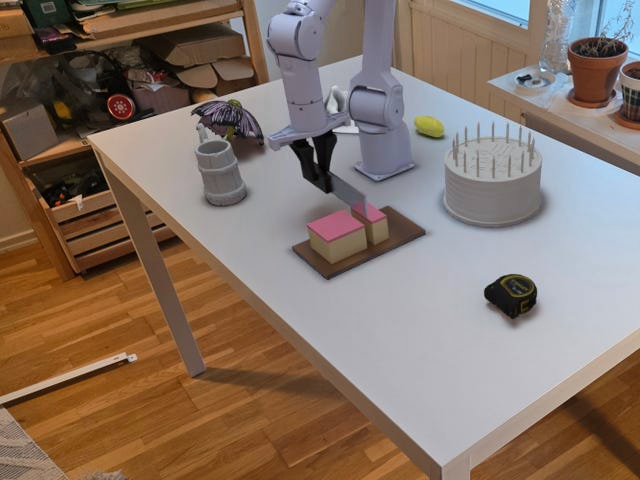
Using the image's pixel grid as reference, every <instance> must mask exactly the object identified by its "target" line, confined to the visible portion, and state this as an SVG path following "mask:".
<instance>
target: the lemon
mask: <svg viewBox="0 0 640 480" xmlns="http://www.w3.org/2000/svg"><path fill="white" fill-rule="evenodd" d="M413 124H414V126H415V127H416V130H417V131H418V132H419V133H420V134H424V135H427V136H429V137H434V138H441V137H442V136H443V135H444V133H445V127H444V125H443V123H442V122H441V121H440V120H439V119H437V118H435V117H433V116H431V115H430V116H428V115H419V116H416V117H415V118H414V120H413Z"/></svg>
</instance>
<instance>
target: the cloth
mask: <svg viewBox="0 0 640 480" xmlns="http://www.w3.org/2000/svg"><path fill="white" fill-rule="evenodd" d="M348 93H349V90H348V91H347V90H343V91H342V90H341V89H340V88H339V86H338V85H333V86H331V87H330V88H329V91H328V93H327V94H326V96H325V97H323V101H324V108H325V114H326V115H327V114H333V113H338V112H341V111H345V112H346V113H347V111H346V98H347V95H348ZM350 120H351V119H350ZM332 131H333V133H338V134H354V135H355V134H357V135H359V129H358V127H355V124H354V121H353V120H351V126H348V127H345V126H342V127H339V128H336V129H333V130H332Z"/></svg>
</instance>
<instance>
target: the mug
mask: <svg viewBox="0 0 640 480" xmlns="http://www.w3.org/2000/svg"><path fill="white" fill-rule="evenodd" d="M195 126H196V127H197V129H198V130H197V129H196V130H197V132H198V138H199V144H198V145H196V147H195V148H194V153H195V156H196V160H197V164H196V165H197V166H196V167H197V169H198V171H199V173H200V175H201V178H202V183H203V194H204V196H205V197H206V198H207V201H209V203H210V204H212V205H215V206H223V207H224V206H230V205H233V204H236V203H239V202H240V201H242V200H243V199H244V198H245V196H246V195H247V194H246V193H247V192H246V189H247V187H246V182H245V180H243V178H242V176H241V171H240V169H239V167H238V166H239V162H238V158H237V157H236V156H235V153H234V149H233V147H232V144H231V142H230V143H229V142H228V141H225V139H209V135H208V133H207V130H206V128H205V127H204V125H203V124H202V123H200V124H198V123H197V124H196V125H195ZM232 149H233V150H232Z"/></svg>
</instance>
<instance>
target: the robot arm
mask: <svg viewBox="0 0 640 480" xmlns="http://www.w3.org/2000/svg"><path fill="white" fill-rule="evenodd" d="M337 2H338V0H289V2H288V3H287V5H286V7H285V8H284V10H283V12H282V13H281V12H280V13H278V14H275V15H274V16H273V17H272V18H271V19H270V20H269V22H268V24H267V28H266V38H265V44H266V46H267V48H268V50H269V51H270V53H271V54H272V55H273V57H274V61H275V65H276V66H277V67H278V68H279V69H280V73H281V78H282V84H283V88H284V95H285V99H286V105H287V110H288V114H289V119H290V120H289V121H290V123H289V124H288V125H286V126H285V127H282V128H281V129H280V130H277V131H276V132H273V133H271V134H269V135H266V139H267V142H268V147H269V148H270V149H271V150H272V151H274V152H278V151H281V149H282V148H283V147H286V146H288V147H289V148H290V149H291V150H292V152H293V153H294V155H295V156H296V158H297V159H298V161H299V164H300V163H301V164H302V166H303V168H304V171H305V173H306V176H307V178H308V179H310V180H311V181H312V182H314V181H316V171H315V166H314V162H315V156H316V163H317V164H319V165H320V166H322V167H323V168H325V169H326V170H328V171H330V170H331V162H332V156H333V153H334V149H335V147H336V145H337V143H338V135H337V134H335V132H333V131H332V130H333V129H336V128H339V127H342V126H345V127H348V126H351V120H353V121H354V124H355V127H358V129H359V134H358V135H359V136H358V137H359V144H360V151H361V153H360V154H361V162H359V163H357V164H355V165H354V166H353V167H354V169H355V170H357V171H358V172H360V173H361V174H364V175H365V176H366V177H368V178H369V179H371V180H372V181H374V182H380V181H382V180H385V179H388V178H390V177H393V176H395V175H397V174H400V173H402V172H405V171H407V170H410V169H412V168H414V167H415V163H413V158H412V144H411V143H412V141H411V133H410V131H409V128H408V125H407V123H406V122H405V121H404V115H405V102H404V86H403V84H402V83H401V82H400V81H399V80H398V78H396V76H394V75H393V73H392V59H393V58H392V57H393V47H394V46H393V44H394V31H395V16H396V6H397V5H396V3H397V0H365V5H364V7H365V8H364V23H363V39H362V40H363V41H362V42H363V43H362V59H361V70H360V71H359V72H357V73H356V74H355V75H354V76H352V77H351V78H350V80H349V88H348V91H349V93H348V95H347V98H346V111H347V113H346V112H345V111H341V112H338V113H333V114H327V115H326V114H325V108H324V101H323V100H324V97H323V96H324V95H323V91H322V83H321V76H320V71H319V64H318V55H319V54H320V53H321V50H322V47H323V36H324V34H325V26H324V25H325V24H326V22H327V20H328V18H329V16H330V15H331V13H332V12H333V10H334V7H335V6H336V4H337ZM373 88H374V89H373ZM350 119H351V120H350ZM307 139H311V141H312V143H313V146H312V145H311V144H310V141H309V140H307ZM330 172H331V171H330Z"/></svg>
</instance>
